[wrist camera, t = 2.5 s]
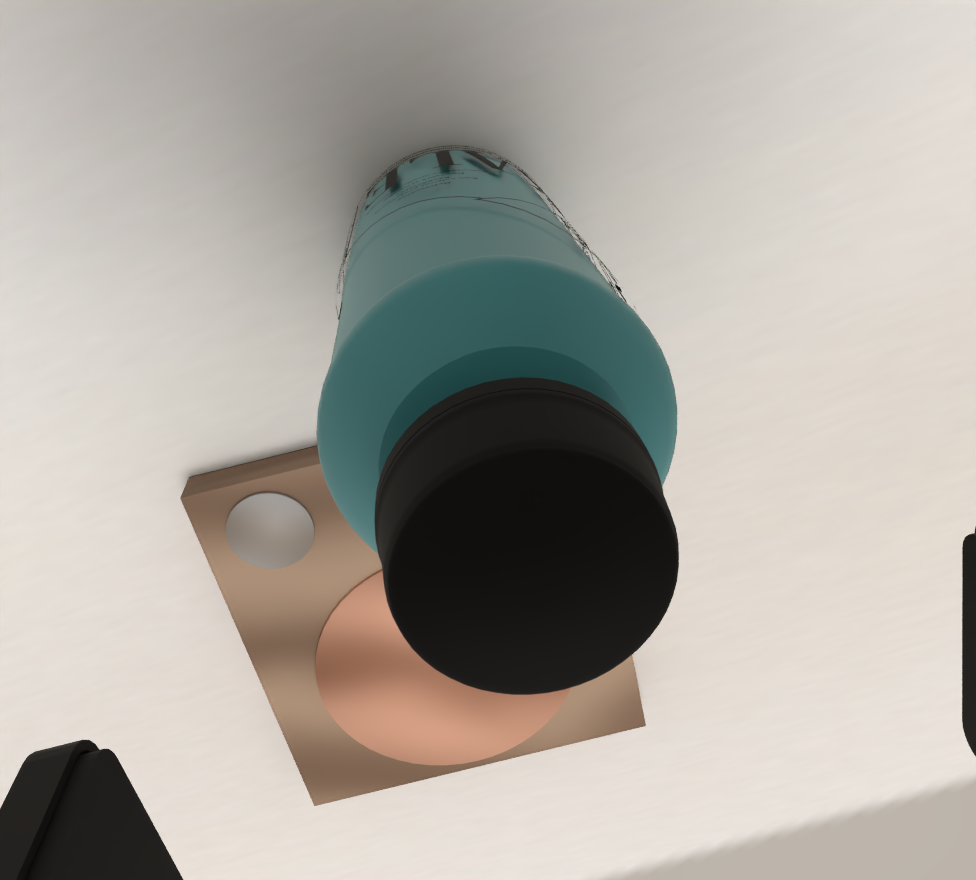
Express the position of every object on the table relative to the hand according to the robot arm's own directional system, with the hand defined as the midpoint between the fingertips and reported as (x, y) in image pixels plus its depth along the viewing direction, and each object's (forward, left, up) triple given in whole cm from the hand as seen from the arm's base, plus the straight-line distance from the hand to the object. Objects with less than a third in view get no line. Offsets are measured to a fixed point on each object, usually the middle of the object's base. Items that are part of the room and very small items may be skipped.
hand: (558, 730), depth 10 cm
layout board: (+13, -4, -22) cm, 26 cm away
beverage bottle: (0, 0, -22) cm, 22 cm away
